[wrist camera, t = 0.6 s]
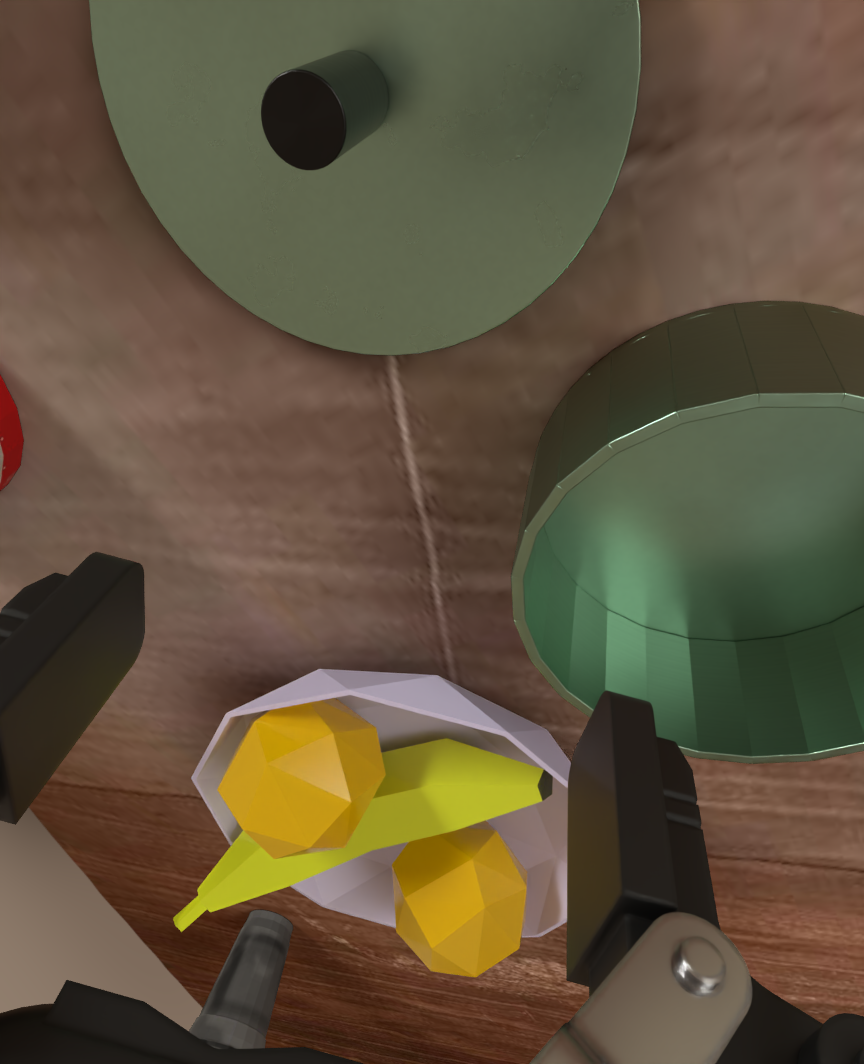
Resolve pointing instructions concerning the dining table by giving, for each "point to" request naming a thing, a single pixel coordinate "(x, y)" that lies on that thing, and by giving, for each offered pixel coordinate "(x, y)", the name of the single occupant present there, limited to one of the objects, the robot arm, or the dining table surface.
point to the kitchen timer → (9, 437)
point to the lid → (374, 151)
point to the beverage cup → (246, 985)
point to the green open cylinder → (708, 533)
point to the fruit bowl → (392, 812)
